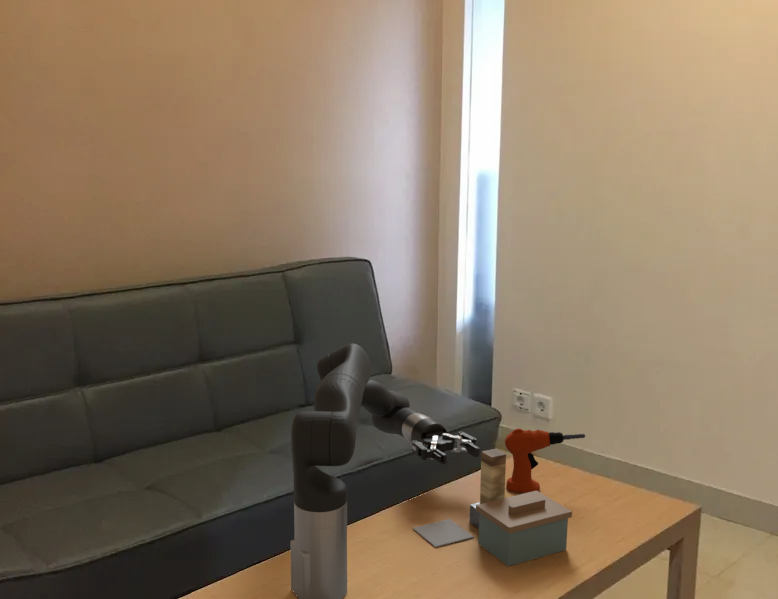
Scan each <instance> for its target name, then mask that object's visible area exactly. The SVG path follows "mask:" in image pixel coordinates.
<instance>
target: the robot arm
mask: <svg viewBox="0 0 778 599" xmlns="http://www.w3.org/2000/svg"><path fill="white" fill-rule="evenodd" d="M316 371H317V374H318V376H319V379H320V383H319V384H318V385H317V389H316V392H315V393H314V397H313V409H314V411H313V410H311V411H310V410H307V411H304V410H303V411H299V412H297V413H296V414H295V416H294V417H293V420H292V424H291V431H290V433H291V434H290V442H291V443H290V444H291V455H292V457H291V459H292V470H293V471H292V472H293V473H292V474H293V506H294V507H293V511H294V512H293V514H294V516H293V517H294V518H293V521H294V522H293V524H294V527H293V529H294V537H293V538H294V539H292V540H290V587H291V588H290V589H292V590H293V591H294V593H295V594H296V595H297V596H296V595H295V594H294V593H293V594H294V595H295V596H296V598H297V597H298V598H299V599H343V598H344V597H346V595H347V592H348V488H347V486H346V483H345V482H344V481H343V480H342V479H340V478H337V477H335V476H333V475H330V474H328V473H326V472H324V471H322V470H321V469H320V468H318V467H341V466H344V465H346V464H349V462H350V461H351V459H352V458H353V455H354V452H355V449H356V440H357V423H358V418H359V414H360V410H361V407H362V408H363V409H364V410H366V411H367V412H368V413H370V414H371V415H372V416H371V421H372V424H373V426H374V427H375V428H376V429H377V430H378V431H381V432H382V433H385V434H386V433H387V434H391V435H399V436H401V437H402V438H404V439H406V440H407V441H408V443H410V444H411V452H412V453H413V454H415V456H417V457H418V458H419V459H421V460H422V461H426V460H428V459H430V460H431V461H433V460H434V461H436V462H437V463H440V464H441V465H446V464H447V457H448V456H447V454H446V453H445V452H452V453H461V452H465V453H468V454H469V455H471V456H472V457H474V458H479V457H480V449H481V448H480V447H479V446H477V437H475V436H472V435H470V434H468V433H467V432H464V431H459V432H458V434H457V435H453V434H450V433H449V432H448V431H447V430H446V427H445V426H444V425H442V424H441V423H440V422H438V421H436V420H434V419H433V418H432V417H429V416H428V415H425V414H422V413H420V412H418V411H417V410H415V409H414V408H411V406H410V405H411V404H410V401H409V399H408V397H407V396H405V395H404V394H402V393H400V392H397V391H394V390H389V389H387V388H386V386H384V385H383V384H381V383H380V382H378V381H375V380H372V379H371V377H372V364H371V360H370V357H369V355H368V353H367V352H366V351H365V349H363V347H362V346H360V345H359V344H356V343H354V342H353V343H348V344H345V345H343V346H341V347H339V348H337V349H335V350H334V351H333V350H332V351H331V352H330V353H328V354H325V355H324V356H322V357H321V358H320V359H319V360H318V361H317V364H316ZM456 442H457V443H456ZM455 446H457V447H455ZM463 446H465V447H463ZM292 590H291V591H292ZM293 591H292V592H293ZM298 598H297V599H298Z"/></svg>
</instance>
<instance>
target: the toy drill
mask: <svg viewBox="0 0 778 599" xmlns="http://www.w3.org/2000/svg"><path fill="white" fill-rule="evenodd" d="M585 437H586V435H585V433H578V434H577V433H576V434H563V433H562V432H553V431H552V432H550V431H549V432H548V431H545V430H541V429H536V430H531V429H527V430H524V429H522V428H515V429H513V430H512V432H510V433H509V434H507V435H506V436H505V438H504V445H505V448H506V450H507V451H509V453H510V454H512V459H513V469H512V473H511V477H509V478H507V481H506V483H505V489H506V490H508V491H509V492H512V493H521V494H524V493H528V492H533V491H538V492H540V489H541V484H540V483H539V482H538V481H536V480H534V479H532V470H533V469H535V468H536V467H537V466H538V465H539V462H538V461H537V460H536V459H535V455H534V454H533V453H534V452H537V451H538V450H539V451H540V450H543V449H545V448H548V447H551V446H553V445H557V444H562V443H563V442H564V441H565V440H572V439H573V440H575V439H585Z"/></svg>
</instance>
